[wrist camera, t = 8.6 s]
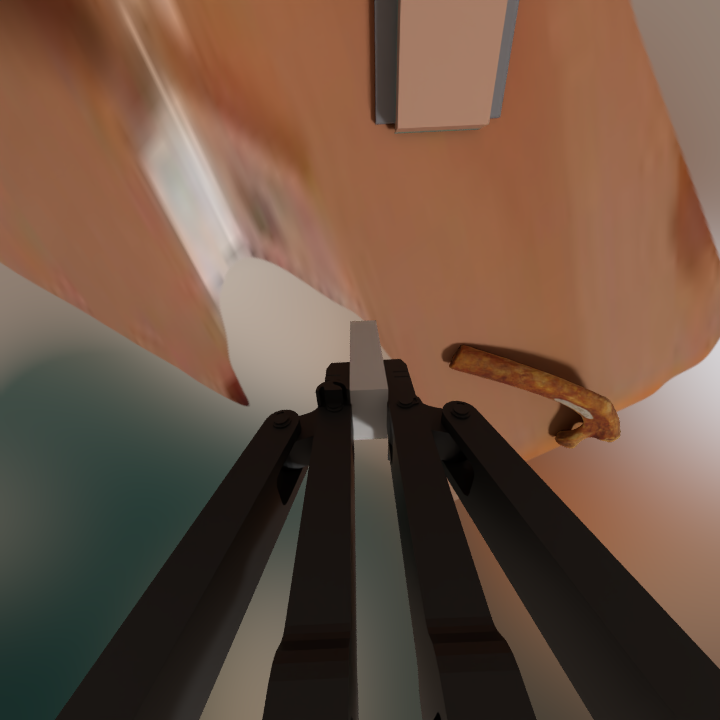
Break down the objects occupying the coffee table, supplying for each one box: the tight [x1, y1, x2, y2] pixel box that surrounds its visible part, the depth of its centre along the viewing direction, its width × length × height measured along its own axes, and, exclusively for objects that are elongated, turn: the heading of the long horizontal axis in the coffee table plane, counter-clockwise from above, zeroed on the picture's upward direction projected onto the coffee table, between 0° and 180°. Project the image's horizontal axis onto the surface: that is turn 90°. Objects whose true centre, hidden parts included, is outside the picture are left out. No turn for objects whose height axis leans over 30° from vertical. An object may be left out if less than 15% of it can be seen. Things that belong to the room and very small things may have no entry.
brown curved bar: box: [449, 345, 621, 448], centre depth 46 cm, size 33×8×10 cm, turn 55°
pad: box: [374, 0, 519, 124], centre depth 26 cm, size 13×13×1 cm
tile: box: [395, 0, 508, 133], centre depth 26 cm, size 9×2×11 cm
